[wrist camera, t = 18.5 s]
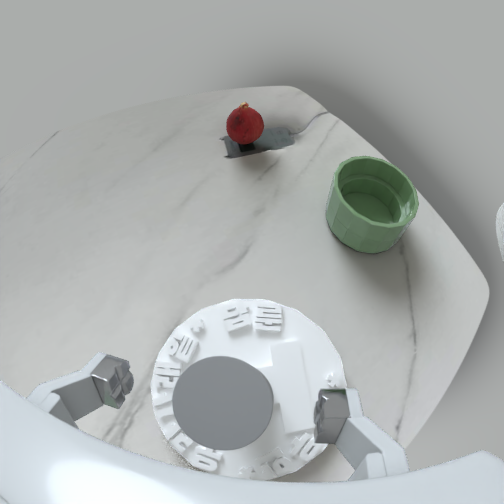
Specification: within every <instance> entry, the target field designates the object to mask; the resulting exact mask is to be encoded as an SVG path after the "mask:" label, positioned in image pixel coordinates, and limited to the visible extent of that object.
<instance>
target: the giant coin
mask: <svg viewBox="0 0 504 504" xmlns="http://www.w3.org/2000/svg"><path fill="white" fill-rule="evenodd" d="M212 356H229V357H234V358H237V359H240V360H242V361H245V362H247V363H248V364H250V365H251V366H253V367H255V368H256V369H258V370H259V371H260V372H262V373H263V374H264V375H265V377H266V378H267V379H268V381H269V383H270V385H271V387H272V390H273V395H274V404H273V412H272V417H271V420H270V422H269V425H268V426H267V428H266V430H265V431H264V432H263V434H262V435H261V436H260V437H259V438H258V439H257V440H255V441H254V442H252V443H251V444H249V445H247V446H245V447H242V448H239V449H235V450H227V451H224V450H214V449H210V448H207V447H204V446H202V445H200V444H198V443H196V442H195V441H193V440H192V439H191V438H189V437H188V436H187V435H186V434H185V433H184V432H183V430H182V429H181V428H180V426H179V425H178V423H177V421H176V418H175V416H174V412H173V407H172V396H173V391H174V387H175V385H176V382H177V380H178V379H179V377H180V376H181V374H182V373H183V372H184V371H185V370H186V369H187V368H188V367H189V366H190V365H192V364H193V363H195V362H197V361H199V360H201V359H204V358H207V357H212ZM320 388H344V389H345V388H347V385H346V380H345V375H344V370H343V365H342V360H341V357H340V355H339V354H338V352H337V351H336V349H335V347H334V346H333V344H332V343H331V341H330V340H329V338H328V336H327V335H326V333H325V332H324V330H323V329H321V328H320V327H319V326H318V325H316V324H315V323H314V322H312V321H311V320H310V319H308V318H307V317H306V316H305V315H303V314H302V313H301V312H299V311H298V310H296V309H293V308H290V307H287V306H284V305H281V304H278V303H275V302H272V301H270V300H267V299H231V300H228V301H225V302H222V303H219V304H215V305H212V306H209V307H206V308H203V309H201V310H199V311H198V312H197V313H195V314H194V315H193V316H191V317H190V318H189V319H187V320H186V321H185V322H183V323H182V324H180V325H179V326H178V327H176V328H175V330H174V331H173V333H172V334H171V336H170V337H169V339H168V340H167V342H166V343H165V345H164V346H163V347H162V349H161V350H160V352H159V353H158V356H157V360H156V361H155V368H154V372H153V376H152V381H151V392H152V403H153V409H154V416H155V418H156V420H157V422H158V424H159V426H160V428H161V430H162V431H163V433H164V435H163V436H164V437H165V438H166V439H167V441H168V443H169V444H170V445H171V446H172V447H173V448H174V449H175V450H176V451H177V452H178V453H179V454H180V455H181V456H183V457H184V458H185V459H186V460H187V461H188V462H189V463H190V464H192V465H193V466H194V467H196V468H198V469H200V470H203V471H205V472H207V473H211V474H216V475H222V476H228V477H235V478H242V479H251V480H261V481H267V480H272V479H274V478H277V477H281V476H284V475H287V474H290V473H293V472H296V471H297V470H299V469H300V468H302V467H303V466H304V465H306V464H307V463H308V462H310V461H311V460H312V459H314V458H315V457H316V456H318V455H319V454H320V453H321V452H323V451H324V449H325V448H326V446H327V445H328V444H322V443H314V429H315V426H316V425H315V424H314V419H313V417H314V408H315V404H316V401H318V393H319V390H320Z"/></svg>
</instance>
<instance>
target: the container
mask: <svg viewBox="0 0 504 504" xmlns="http://www.w3.org/2000/svg"><path fill="white" fill-rule="evenodd" d="M273 404H274V395H273V390H272V387H271V385H270V383H269V381H268V379H267V378H266V377H265V375H264V374H263V373H262V372H260V371H259V370H258V369H256V368H255V367H253V366H251V365H250V364H248V363H247V362H245V361H242V360H240V359H237V358H234V357H229V356H212V357H207V358H204V359H201V360H199V361H197V362H195V363H193V364H192V365H190V366H189V367H188V368H187V369H186V370H185V371H184V372H183V373H182V374H181V376H180V377H179V379H178V380H177V382H176V385H175V387H174V391H173V396H172V407H173V412H174V416H175V418H176V421H177V423H178V425H179V426H180V428H181V429H182V430H183V432H184V433H185V434H186V435H187V436H188V437H189V438H191V439H192V440H193V441H195V442H196V443H198V444H200V445H202V446H204V447H207V448H210V449H214V450H224V451H227V450H235V449H239V448H242V447H245V446H247V445H249V444H251V443H252V442H254V441H255V440H257V439H258V438H259V437H260V436H261V435H262V434H263V432H264V431H265V430H266V428H267V426H268V425H269V422H270V420H271V417H272V412H273Z"/></svg>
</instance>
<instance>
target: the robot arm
mask: <svg viewBox="0 0 504 504" xmlns="http://www.w3.org/2000/svg"><path fill="white" fill-rule="evenodd" d="M129 368H130V365H129V361H127V360H124V359H121V358H118V357H115V356H111V355H108V354H105V353H102V352H99V353H97V354H96V355H95V356H94V357H93V358H92V359H91V360H90V361H89V363H88V364H87V365H86V366H85V367H84V368H83V369H82V370H81V371H76V372H73V373H70V374H67V375H64V376H61V377H59V378H56V379H53V380H50V381H47V382H44V383H41V384H39V385H38V386H37V387H36V388H35V389H34V390H33V391H32V392H31V394H30V395H29V396H28V397H27V398H24V397H23V396H21V395H20V394H19V393H17V392H16V391H14V390H13V389H12V388H10V387H9V386H8V385H6V384H5V383H4V382H2V381H1V380H0V504H504V461H503V460H501V459H500V458H498V457H497V456H495V455H493V454H491V453H489V452H487V451H485V450H480V451H476V452H474V453H471V454H468V455H466V456H463V457H460V458H457V459H454V460H451V461H448V462H445V463H441V464H438V465H434V466H431V467H427V468H423V469H419V470H415V471H410V469H409V465H408V461H407V458H406V454H405V450H404V448H403V447H402V446H401V445H400V444H399V443H397V442H396V441H395V440H394V439H393V438H391V437H390V436H389V435H388V434H387V433H386V432H384V431H383V430H382V429H381V428H380V427H379V426H377V425H376V424H375V423H374V422H373V421H372V420H371V419H369V418H368V417H364V414H363V410H362V405H361V401H360V397H359V393H358V389H357V388H345V389H344V388H320V390H319V393H318V401H316V404H315V408H314V417H313V419H314V424H315V425H316V426H315V429H314V443H322V444H335V445H336V447H337V448H338V449H339V451H340V452H341V453H342V454H343V456H344V457H345V458H346V459H347V461H348V462H349V463H350V464H351V466H352V467H353V468H354V469H355V472H354V473H353V474H352V476H351V477H350V478H349V479H348V481H339V482H316V483H297V482H273V481H261V480H251V479H242V478H235V477H228V476H222V475H216V474H211V473H206V472H201V471H196V470H192V469H187V468H183V467H179V466H175V465H172V464H168V463H164V462H161V461H158V460H154V459H151V458H148V457H145V456H142V455H139V454H136V453H133V452H131V451H128V450H125V449H123V448H120V447H117V446H115V445H112V444H110V443H108V442H105V441H103V440H101V439H98V438H96V437H94V436H92V435H90V434H87V433H85V432H83V431H81V430H79V428H78V426H77V425H76V423H75V422H74V421H76V420H78V419H80V418H82V417H83V416H85V415H87V414H89V413H90V412H92V411H94V410H96V409H97V408H99V407H101V406H103V405H104V404H105V405H108V406H111V407H114V408H117V409H120V407H121V405H122V404H123V402H124V401H125V396H124V395H127V394H129V393H130V391H131V390H132V387H133V384H134V379H133V375H132V373H131V372H130V371H129Z"/></svg>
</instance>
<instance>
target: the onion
mask: <svg viewBox="0 0 504 504" xmlns="http://www.w3.org/2000/svg"><path fill="white" fill-rule="evenodd" d="M263 129H264V123H263V119H262V117H261V115H260V114H259V113H258V112H257V111H255V110H254V109H252V108H250V107H248V104H247V103H246V102H244V103H242V104H241V105H240V106H239V108H237V109H235V110H234V111H232V113H231V114H230V115H229V117H228V119H227V133H228V135H229V136H230V138H231V139H232V140H233V141H235V142H237V143H240V144H249V143H252V142H254V141H255V140H257V139H258V138H259V137H260V136H261V134H262V132H263Z"/></svg>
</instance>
